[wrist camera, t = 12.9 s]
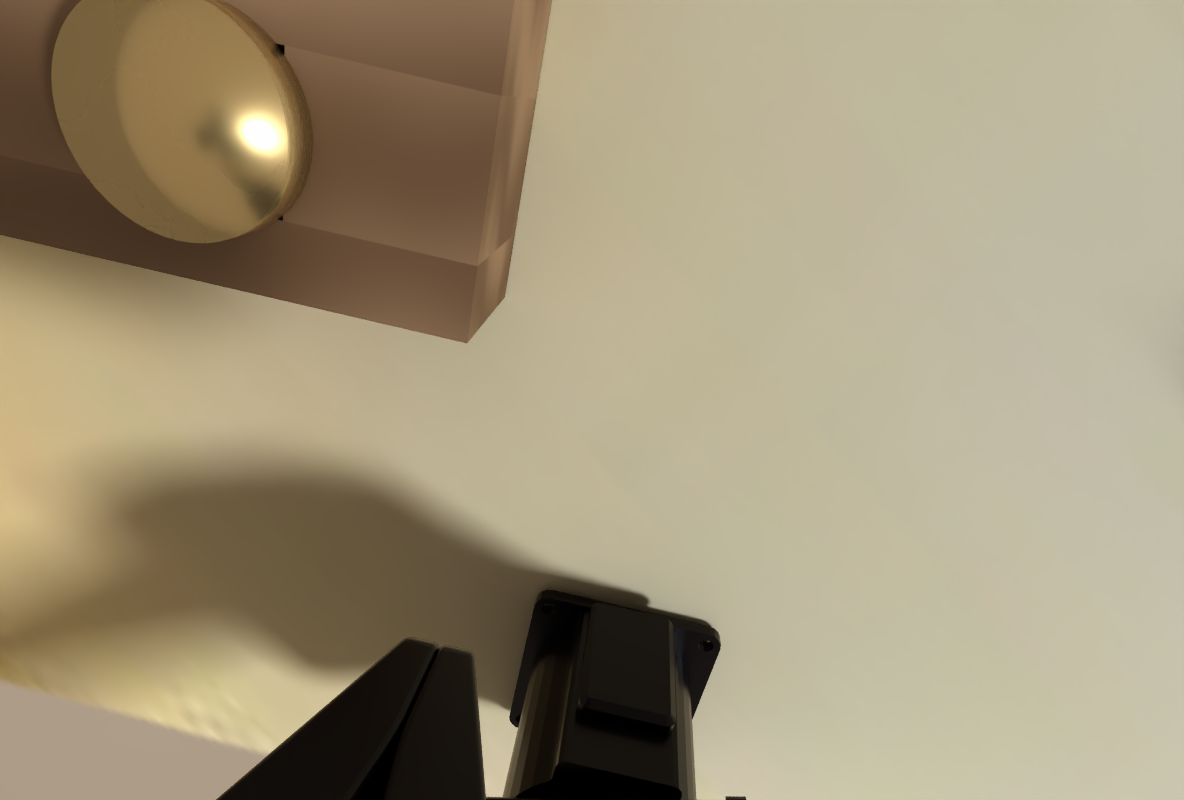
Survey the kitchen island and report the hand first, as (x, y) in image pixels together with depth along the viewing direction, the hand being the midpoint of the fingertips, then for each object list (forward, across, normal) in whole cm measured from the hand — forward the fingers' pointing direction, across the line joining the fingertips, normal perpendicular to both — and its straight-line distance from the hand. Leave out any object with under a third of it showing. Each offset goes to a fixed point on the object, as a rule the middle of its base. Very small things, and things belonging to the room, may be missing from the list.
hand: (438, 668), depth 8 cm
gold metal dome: (+12, +8, -4) cm, 15 cm away
